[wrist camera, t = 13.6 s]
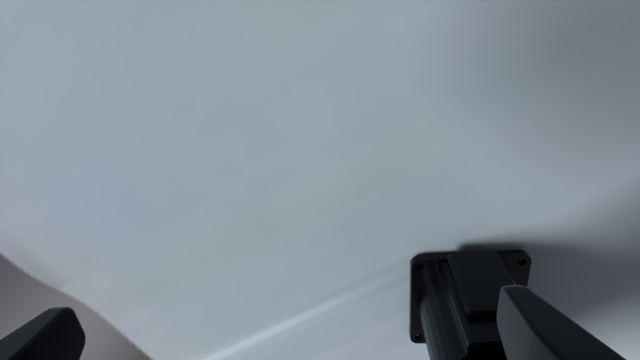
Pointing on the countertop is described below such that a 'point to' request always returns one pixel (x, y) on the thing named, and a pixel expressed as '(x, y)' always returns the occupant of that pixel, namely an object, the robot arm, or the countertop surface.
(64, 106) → the countertop surface
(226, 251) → the countertop surface
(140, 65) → the countertop surface
